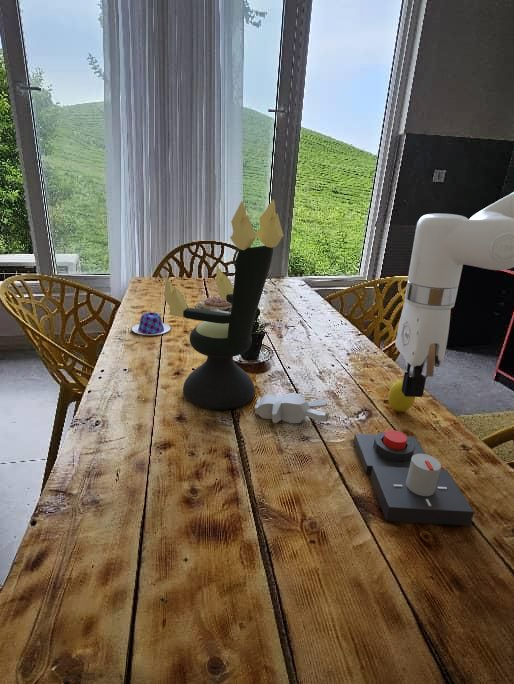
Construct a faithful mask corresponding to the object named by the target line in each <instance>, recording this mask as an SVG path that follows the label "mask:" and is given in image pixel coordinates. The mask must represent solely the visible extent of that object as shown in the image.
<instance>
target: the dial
mask: <svg viewBox="0 0 514 684" xmlns="http://www.w3.org/2000/svg"><path fill="white" fill-rule="evenodd" d="M440 470H442V464H441V462H440V460H438V459H437V458H436V457H434V456H432V455H430V454H427V453H426V454H415V455H413V456H412V459H411V463H410V468H409V472H408V476H407V481H406V485H407V487H408V489H409V490H410V491H412V492H413V493H415V494H417V495H421V496H431V495H433V494H434V492H435V488H436V485H437V481H438V477H439V473H440Z"/></svg>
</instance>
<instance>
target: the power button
mask: <svg viewBox="0 0 514 684" xmlns="http://www.w3.org/2000/svg"><path fill="white" fill-rule="evenodd" d="M384 432H385V434H384V439H383V443H384V445H386V446H387V447H389V448H392V449H395V450H403V449H405V447H406V443H407V437H406V436H407V435H406V434H405V433H403V432H401V431H399V430H396V429H395V430H394V429H389V430H386V431H384Z"/></svg>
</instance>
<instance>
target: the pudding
mask: <svg viewBox="0 0 514 684" xmlns="http://www.w3.org/2000/svg"><path fill="white" fill-rule="evenodd" d="M131 330H132V332H133V333H135V334H138V335H142V336H158V335H163V334H166V333H168V332H169V331H170V330H171V326H170V325H169V324H167V323H165V322H163V320H162V317H161V314H160V313H158V312H157V313H156V312H153V311H152V312H150V311H149V312H144V313H142V315H141V316H140V320H139V323H137V324H134V325H133V326H132V327H131Z"/></svg>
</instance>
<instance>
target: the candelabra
mask: <svg viewBox="0 0 514 684" xmlns="http://www.w3.org/2000/svg"><path fill="white" fill-rule="evenodd" d="M258 220H259V224H260V227H259V229H258V230H257V231H256V232H255V230H254V228H253V225H252V224H253V223H252V222H251V220H250V217H249V216H248V215H247V213H246V207H245V205H244V202H243V200H241V201H240V203H239V205H238V207H237V209H236V211H235V213H234V215H233V217H232V220H231V227H232V235H230V236H229V238H230V241H231V242H232V244H234V246H235V247H236V248H237V249H239V250H238V252H237V254H236V258H235V266H234V267H235V269H234V280H233V283H232V281H231V279H229V277H227V275H226V274H225V273H224V272H223V271H222V270H221V268H220V267H219V266H218V265H216V274H215V275H216V277H215V285H216V287H217V289H218V292H219V297H220V298H221V299H223V300H226V301H227V302H229V303H231V304H232V308H230V312H229V313H223V312H216V311H210V310H203V309H196V308H195V307H189V306H188V303H187V301H186V299H185V297H184V294H183V292H181V291H180V289H178V288H177V286H173V284H172V283H171V282H170V280H169V279H167V278H165V280H164V301H165V302H166V304H167V305H168V306H169V315H170V316H173V317H179V318H181V317H183V318H185V319H187V320H192V321H193V320H194V321H200V322H201V323H199V324H198V325H196V326H195V327H194V328H193V329H192V330H191V332H190V334H189V343H190V345H191V348H193V350H195V351H196V352H197V353H199V354H201V355H204V356H206V360H205V361H204V362H203V363H202V364H201V365H199V366H197V367H196V368H195V369H194V370H193V371H192V372H191V373H189V375H188V376H187V377H186V378H185V380H184V383H183V386H182V392H183V395H184V396H185V398H186V399H187V400H188V401H189V402H191V403H192V404H193V405H195V406H198V407H200V408H202V409H207V410H211V411H227V410H235V409H237V408H241V407H243V406H244V405H246V404H247V403H249V402H250V401H251V400H252V399H253V398H254V396H255V393H256V390H255V384H254V382H253V380H252V378H251V377H250V375H249V374H248V373H247V372H246V371H245V370H244V369H243V368H241V367H240V366H239V365H238V364H236V363H235V361H234V357H238V356H240V355H242V354H244V353H246V352H247V351H248V350H249V349H250V347H251V346H252V343H253V337H252V333H253V329H254V324H255V321H256V316H257V311H258V308H259V305H260V301H261V298H262V295H263V290H264V288H265V284H266V281H267V278H268V275H269V271H270V268H271V263H272V260H273V254H274V248H276V247H277V246H278V244H279V243H280V242H281V240H283V238H284V237H285V236H284V231H283V227H282V224H281V221H280V217H279V213H276V203H275V200H274V199H272V200H271V201H270V203H269V204H268V206H267V207H266V208H265V211H264V212H263V213H262V214H261V215H260V217H259V219H258ZM256 239H258V240H259V242H260V243H261V244H263V245H260V246H253V243H254V241H255V240H256ZM252 246H253V247H252Z"/></svg>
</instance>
